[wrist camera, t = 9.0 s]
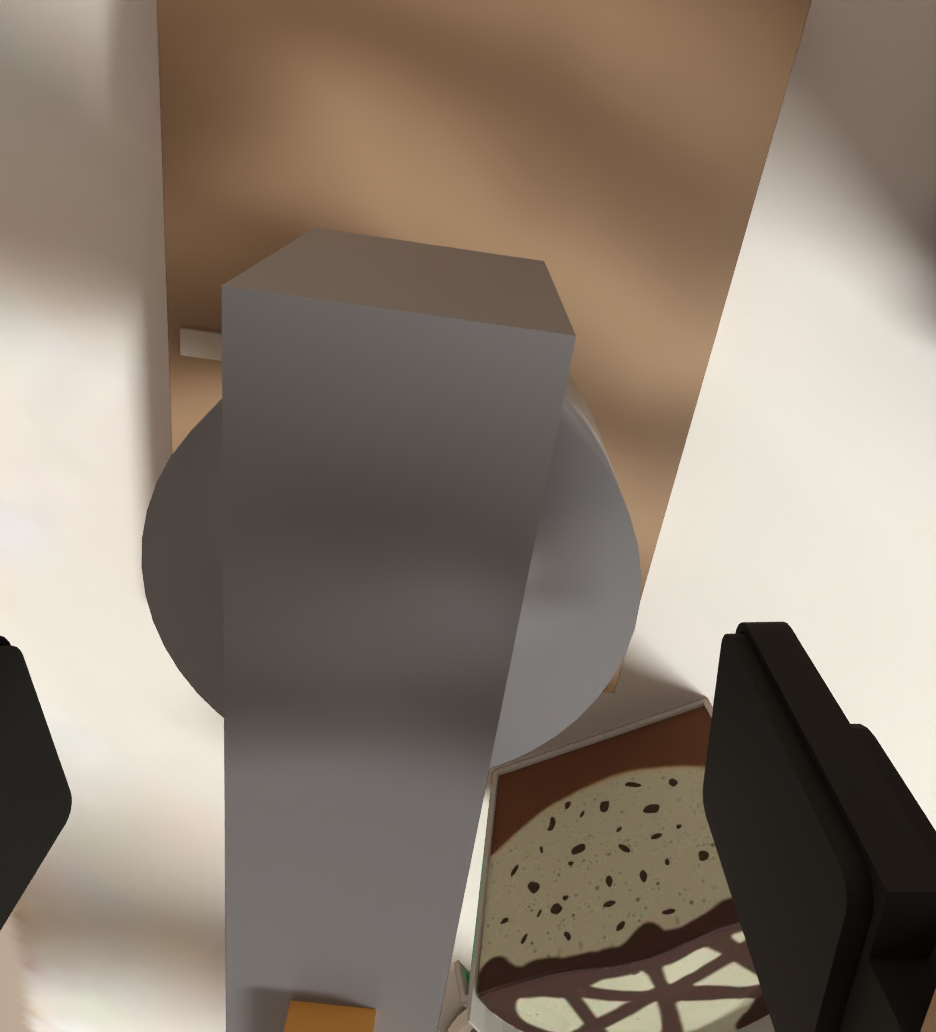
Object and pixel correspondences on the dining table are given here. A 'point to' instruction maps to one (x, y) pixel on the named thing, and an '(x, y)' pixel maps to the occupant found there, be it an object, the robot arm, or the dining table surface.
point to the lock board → (485, 172)
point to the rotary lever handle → (381, 602)
